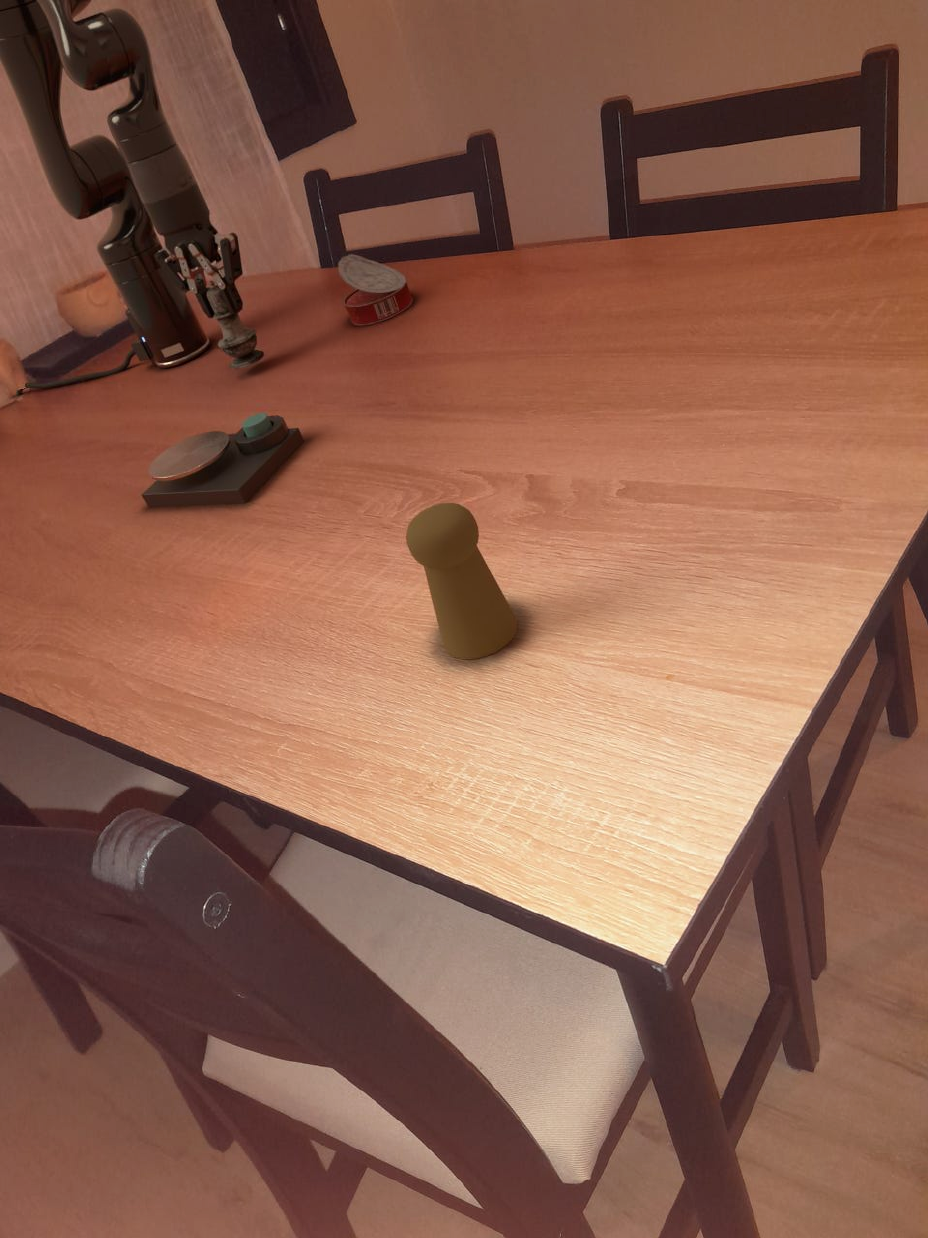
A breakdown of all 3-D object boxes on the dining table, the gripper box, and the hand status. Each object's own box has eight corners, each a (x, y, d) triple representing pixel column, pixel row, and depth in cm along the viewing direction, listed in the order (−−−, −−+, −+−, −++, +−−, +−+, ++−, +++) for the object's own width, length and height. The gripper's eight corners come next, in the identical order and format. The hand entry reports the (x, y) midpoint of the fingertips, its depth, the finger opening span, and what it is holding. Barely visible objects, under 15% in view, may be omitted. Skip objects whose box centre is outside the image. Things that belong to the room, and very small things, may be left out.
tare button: (242, 439, 111) (236, 427, 110) (256, 425, 113) (251, 413, 112) (263, 437, 109) (257, 425, 108) (277, 423, 111) (272, 411, 110)
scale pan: (133, 483, 109) (131, 479, 109) (184, 437, 116) (182, 433, 116) (197, 479, 104) (195, 475, 104) (246, 431, 111) (244, 428, 111)
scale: (148, 508, 111) (133, 483, 109) (213, 446, 120) (200, 422, 118) (246, 504, 104) (231, 476, 102) (307, 439, 113) (295, 412, 111)
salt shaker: (257, 365, 135) (220, 283, 128) (222, 372, 137) (184, 293, 130) (271, 347, 139) (236, 267, 132) (237, 355, 141) (201, 276, 134)
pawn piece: (440, 621, 76) (393, 507, 69) (512, 599, 75) (471, 481, 69) (445, 668, 71) (394, 550, 64) (523, 645, 70) (479, 523, 64)
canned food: (394, 326, 149) (397, 258, 146) (422, 329, 141) (425, 257, 138) (326, 322, 144) (327, 252, 141) (350, 325, 135) (352, 250, 132)
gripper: (225, 168, 123) (278, 296, 133) (147, 188, 130) (203, 308, 140) (191, 189, 118) (250, 320, 128) (112, 209, 125) (173, 331, 135)
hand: (225, 313), depth 134 cm, fingers closed on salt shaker, 3 cm apart
